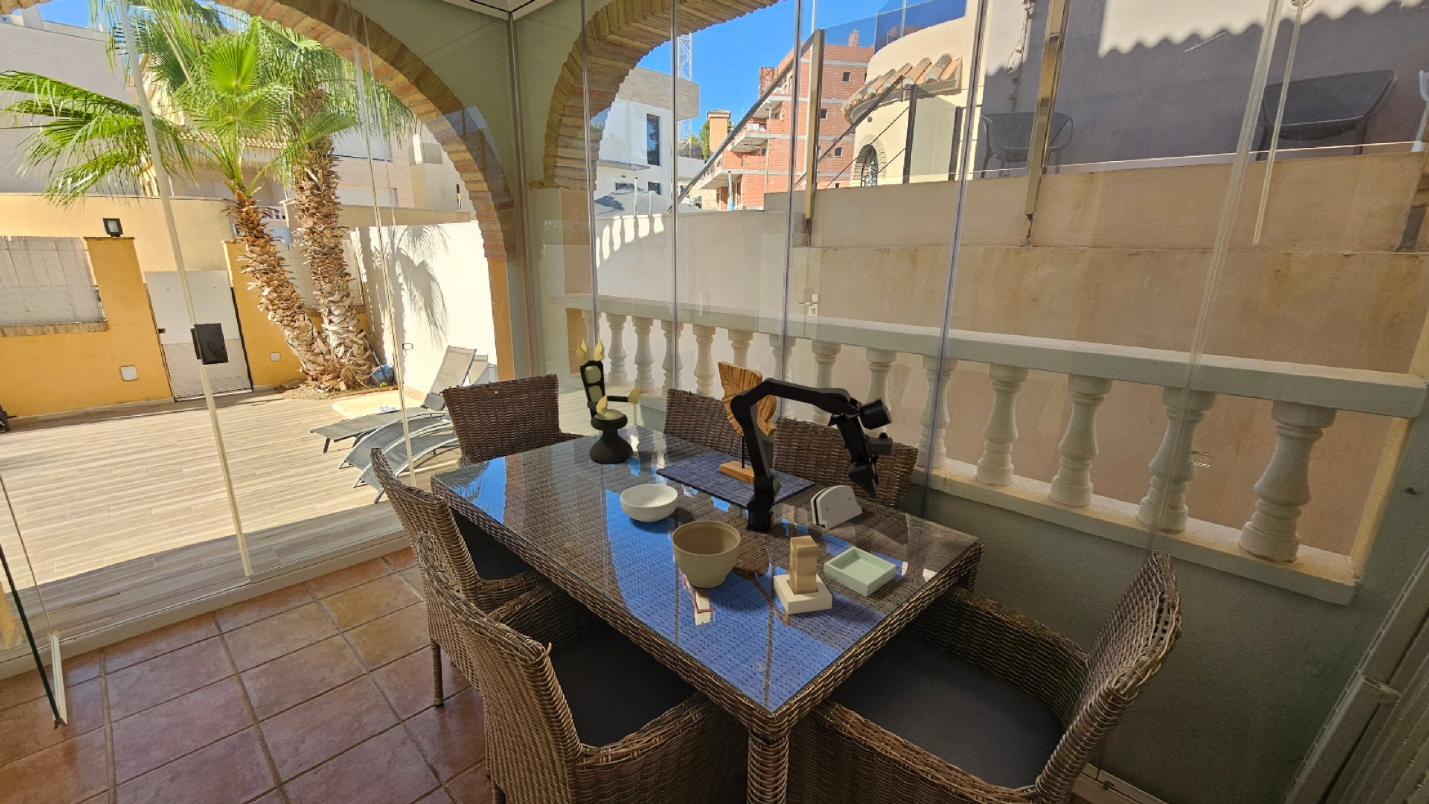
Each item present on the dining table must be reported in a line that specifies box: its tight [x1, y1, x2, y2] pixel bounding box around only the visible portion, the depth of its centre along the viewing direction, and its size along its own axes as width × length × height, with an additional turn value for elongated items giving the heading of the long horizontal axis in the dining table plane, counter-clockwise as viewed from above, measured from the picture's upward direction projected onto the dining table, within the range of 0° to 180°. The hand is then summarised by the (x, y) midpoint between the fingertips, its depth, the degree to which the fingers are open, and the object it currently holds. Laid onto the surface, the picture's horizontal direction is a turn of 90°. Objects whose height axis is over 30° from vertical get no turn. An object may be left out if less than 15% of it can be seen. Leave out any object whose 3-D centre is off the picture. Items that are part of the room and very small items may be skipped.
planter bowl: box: [671, 520, 741, 589], centre depth 128 cm, size 16×16×11 cm
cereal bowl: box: [620, 483, 679, 523], centre depth 160 cm, size 17×17×7 cm
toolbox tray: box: [823, 546, 897, 598], centre depth 130 cm, size 12×12×3 cm
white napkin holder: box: [810, 484, 863, 530], centre depth 159 cm, size 17×5×10 cm, turn 129°
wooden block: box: [789, 535, 819, 595], centre depth 120 cm, size 4×4×14 cm
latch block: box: [773, 572, 833, 615], centre depth 121 cm, size 10×10×3 cm
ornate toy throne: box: [574, 338, 642, 464], centre depth 204 cm, size 19×22×45 cm
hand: (876, 490), depth 140 cm, fingers open, 9 cm apart
